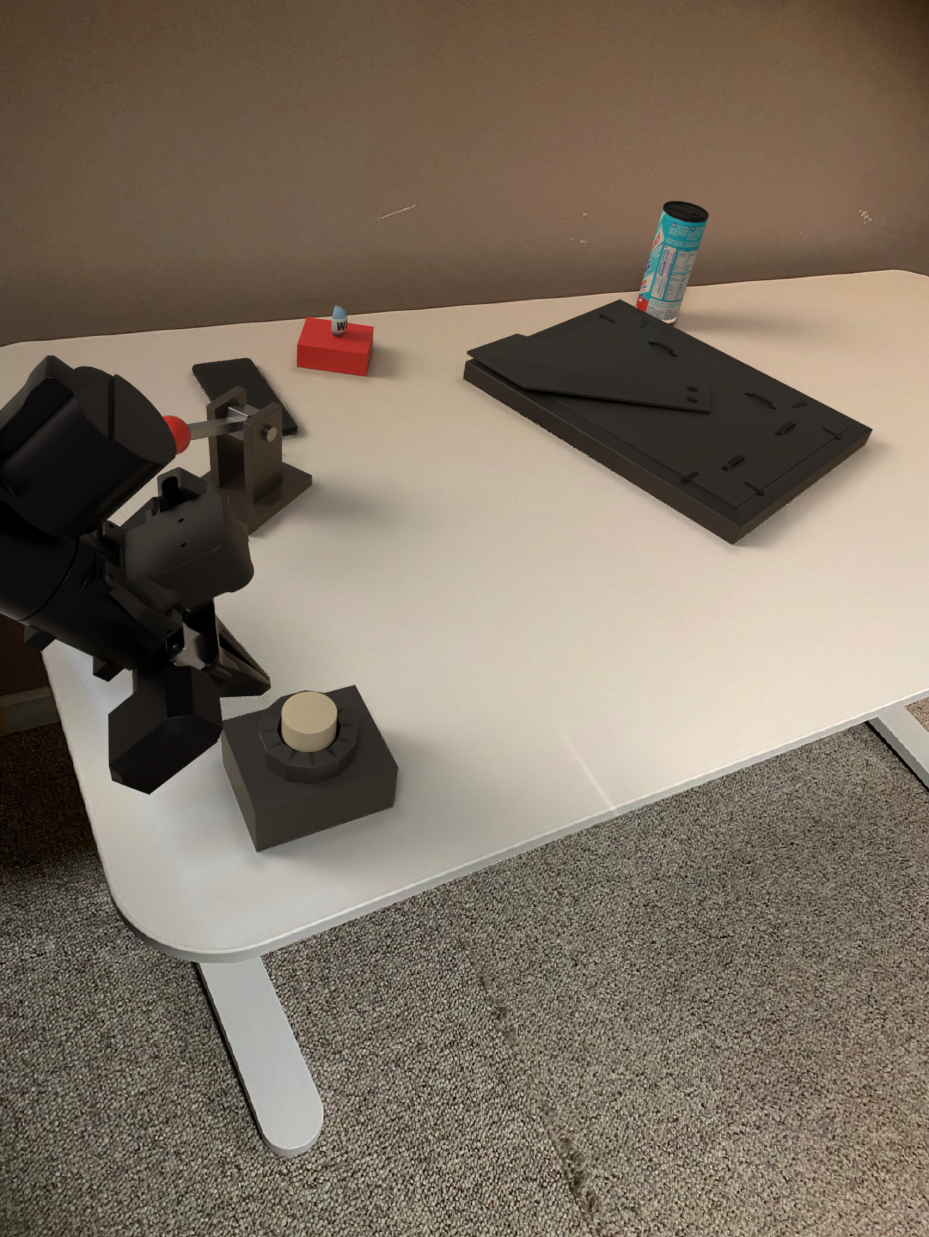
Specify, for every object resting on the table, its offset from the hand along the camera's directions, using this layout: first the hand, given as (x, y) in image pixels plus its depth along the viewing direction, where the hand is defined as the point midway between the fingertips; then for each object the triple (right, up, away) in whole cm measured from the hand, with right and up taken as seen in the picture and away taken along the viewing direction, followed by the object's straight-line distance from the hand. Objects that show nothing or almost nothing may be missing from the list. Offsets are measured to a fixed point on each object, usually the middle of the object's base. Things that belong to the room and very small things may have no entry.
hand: (265, 687), depth 58 cm
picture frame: (+36, +29, +53) cm, 70 cm away
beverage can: (+39, +46, +71) cm, 93 cm away
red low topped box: (-3, +35, +52) cm, 63 cm away
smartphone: (-11, +28, +42) cm, 52 cm away
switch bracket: (-8, +16, +31) cm, 36 cm away
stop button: (+2, -3, +4) cm, 6 cm away
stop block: (+1, -8, +8) cm, 11 cm away
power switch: (-10, +19, +22) cm, 31 cm away
